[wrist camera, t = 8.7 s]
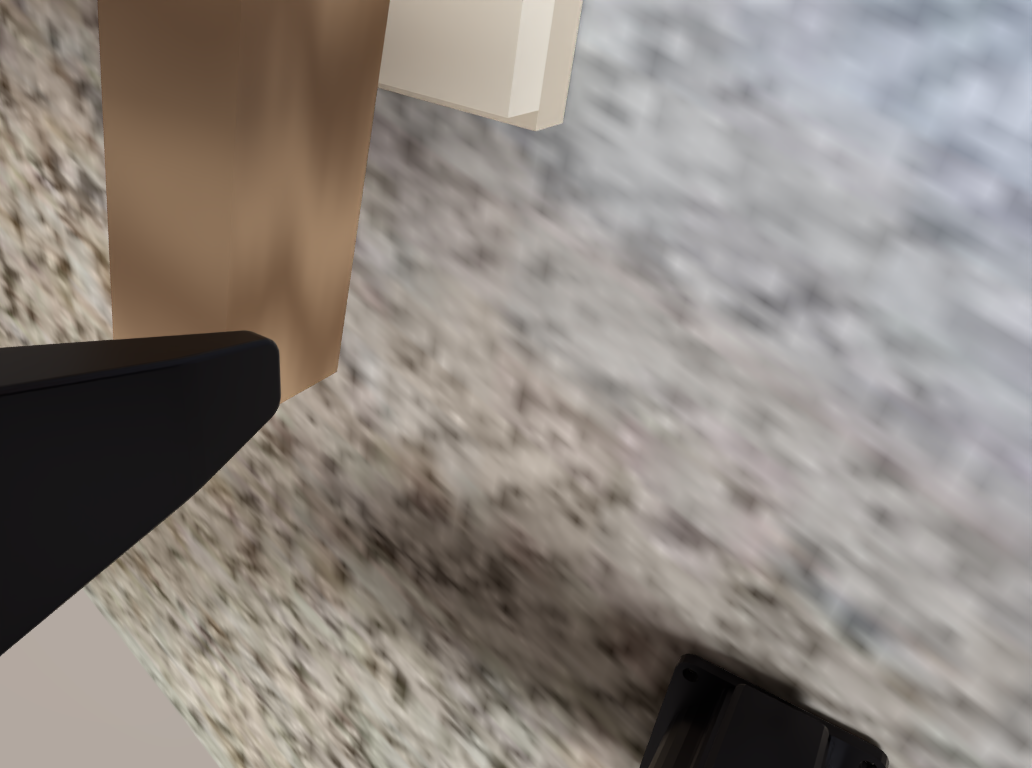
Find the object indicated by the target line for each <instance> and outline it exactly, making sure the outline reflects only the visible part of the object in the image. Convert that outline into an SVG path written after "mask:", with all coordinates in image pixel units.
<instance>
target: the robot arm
mask: <svg viewBox="0 0 1032 768" xmlns="http://www.w3.org/2000/svg"><path fill="white" fill-rule="evenodd" d="M280 401H281V378H280V353H279V349H278V347H277V344H276V343H275V342H274V341H273V340H271V339H269V338H267V337H264V336H262V335H260V334H257V333H255V332H252V331H248V330H241V331H227V332H213V333H199V334H185V335H171V336H157V337H143V338H130V339H116V340H102V341H88V342H74V343H60V344H46V345H32V346H18V347H4V348H0V656H1V655H2V654H3V653H5V652H6V651H7V650H8V649H9V648H11V647H12V646H13V645H14V644H15V643H17V642H18V641H19V640H20V639H21V638H23V637H24V636H25V635H26V634H27V633H29V632H30V631H31V630H32V629H33V628H35V627H36V626H37V625H38V624H40V623H41V622H42V621H43V620H44V619H46V618H47V617H48V616H49V615H50V614H52V613H53V612H54V611H55V610H56V609H57V608H59V607H60V606H61V605H62V604H64V603H65V602H66V601H67V600H68V599H70V598H71V597H72V596H73V595H74V594H76V593H77V592H78V591H79V590H80V589H82V588H83V587H84V586H85V585H87V584H88V583H89V582H90V581H91V580H93V579H94V578H95V577H96V576H97V575H99V574H100V573H101V572H102V571H103V570H105V569H106V568H107V567H108V566H109V565H111V564H112V563H113V562H114V561H115V560H117V559H118V558H119V557H120V556H121V555H123V554H124V553H125V552H126V551H128V550H129V549H130V548H131V547H132V546H134V545H135V544H136V543H137V542H138V541H140V540H141V539H142V538H143V537H144V536H146V535H147V534H148V533H149V532H150V531H152V530H153V529H154V528H155V527H156V526H158V525H159V524H160V523H161V522H162V521H164V520H165V519H166V518H167V517H168V516H170V515H171V514H172V513H173V512H175V511H176V510H177V509H178V508H179V507H180V506H182V505H183V504H184V503H185V502H186V501H187V500H189V499H190V498H191V497H192V496H193V495H194V494H195V493H196V492H197V491H198V490H200V489H201V488H202V487H203V486H204V485H205V484H206V483H207V482H208V481H209V480H210V479H211V478H212V477H213V476H214V475H215V474H216V473H217V472H218V471H219V470H220V469H221V468H222V467H223V466H224V465H225V464H226V463H227V462H228V461H229V460H230V459H231V458H232V457H233V456H234V455H235V454H236V453H237V452H238V451H239V450H240V449H241V448H242V447H243V446H244V445H245V444H246V443H247V442H248V441H249V440H250V439H251V438H252V437H253V436H254V435H255V434H256V433H257V432H258V431H259V430H260V429H261V428H262V427H263V426H264V425H265V424H266V423H267V422H268V421H269V420H270V419H271V418H272V417H273V415H274V414H275V413H276V411H277V409H278V407H279V405H280ZM689 669H691V670H693V671H695V672H696V673H693V672H691V671H690V670H689ZM865 761H869V762H872V763H873V764H869V763H867V762H865ZM888 765H889V760H888V757H887V756H886V754H885V753H884V752H883V751H882V750H880V749H879V748H877V747H876V746H874V745H872V744H870V743H868V742H866V741H864V740H862V739H860V738H858V737H856V736H854V735H852V734H850V733H848V732H846V731H844V730H842V729H840V728H838V727H836V726H834V725H832V724H830V723H828V722H826V721H824V720H822V719H821V718H819V717H817V716H815V715H813V714H811V713H809V712H807V711H805V710H803V709H801V708H799V707H797V706H795V705H793V704H791V703H789V702H787V701H785V700H783V699H781V698H779V697H777V696H775V695H773V694H771V693H769V692H767V691H765V690H763V689H762V688H760V687H758V686H756V685H754V684H752V683H750V682H748V681H746V680H744V679H742V678H740V677H738V676H736V675H734V674H732V673H730V672H728V671H726V670H724V669H722V668H720V667H718V666H716V665H714V664H712V663H710V662H708V661H706V660H704V659H703V658H701V657H699V656H696V655H693V654H686V655H683V656H682V657H681V658H680V660H679V662H678V664H677V666H676V668H675V670H674V673H673V676H672V679H671V681H670V684H669V687H668V690H667V693H666V695H665V698H664V701H663V704H662V707H661V709H660V712H659V715H658V718H657V720H656V723H655V726H654V729H653V732H652V734H651V737H650V740H649V743H648V745H647V748H646V751H645V754H644V757H643V759H642V762H641V765H640V768H888Z"/></svg>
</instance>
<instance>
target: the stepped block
mask: <svg viewBox="0 0 1032 768" xmlns="http://www.w3.org/2000/svg"><path fill="white" fill-rule="evenodd" d="M582 3H583V0H390V4H389V11H388V18H387V25H386V32H385V39H384V46H383V53H382V60H381V67H380V74H379V81H378V88H381V89H384V90H388V91H392V92H395V93H399V94H402V95H406V96H410V97H413V98H417V99H421V100H424V101H428V102H431V103H435V104H439V105H442V106H446V107H450V108H453V109H457V110H460V111H464V112H468V113H471V114H475V115H479V116H482V117H486V118H489V119H493V120H497V121H500V122H504V123H508V124H511V125H515V126H518V127H522V128H526V129H529V130H533V131H538V130H541V129H545V128H548V127H552V126H555V125H558V124H562V123H563V119H564V113H565V106H566V100H567V94H568V88H569V82H570V76H571V70H572V64H573V58H574V52H575V46H576V40H577V34H578V27H579V21H580V15H581V9H582Z"/></svg>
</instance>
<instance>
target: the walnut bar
mask: <svg viewBox="0 0 1032 768" xmlns="http://www.w3.org/2000/svg"><path fill="white" fill-rule="evenodd" d="M389 4H390V0H98V21H99V43H100V64H101V85H102V106H103V128H104V149H105V170H106V192H107V213H108V234H109V255H110V277H111V298H112V319H113V340H116V339H130V338H143V337H157V336H171V335H185V334H199V333H213V332H227V331H241V330H248V331H252V332H255V333H257V334H260V335H262V336H264V337H267V338H269V339H271V340H273V341H274V342H275V343H276V344H277V347H278V349H279V353H280V378H281V401H280V404H281V403H282V402H284V401H286V400H288V399H289V398H291V397H293V396H295V395H297V394H298V393H300V392H302V391H304V390H305V389H307V388H309V387H311V386H312V385H314V384H316V383H318V382H320V381H321V380H323V379H325V378H327V377H328V376H330V375H332V374H334V373H335V372H337V367H338V360H339V354H340V347H341V340H342V333H343V326H344V319H345V312H346V305H347V298H348V291H349V284H350V277H351V270H352V263H353V256H354V249H355V242H356V235H357V228H358V221H359V214H360V207H361V200H362V193H363V186H364V179H365V172H366V165H367V158H368V151H369V144H370V137H371V130H372V123H373V116H374V109H375V102H376V95H377V88H378V81H379V74H380V67H381V60H382V53H383V46H384V39H385V32H386V25H387V18H388V11H389Z"/></svg>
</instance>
